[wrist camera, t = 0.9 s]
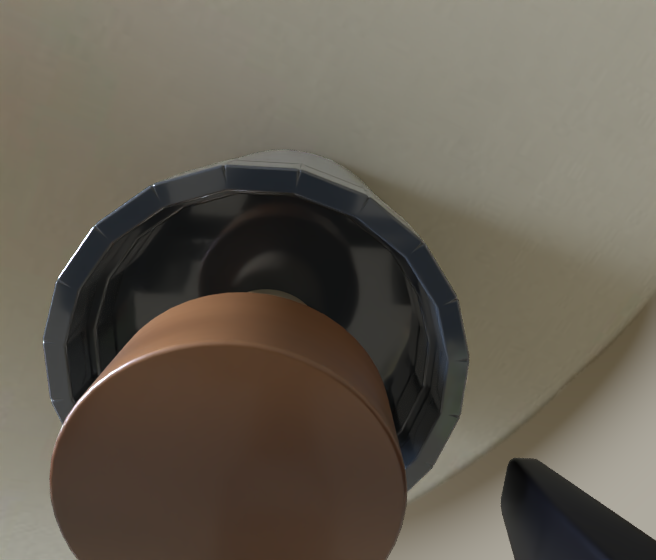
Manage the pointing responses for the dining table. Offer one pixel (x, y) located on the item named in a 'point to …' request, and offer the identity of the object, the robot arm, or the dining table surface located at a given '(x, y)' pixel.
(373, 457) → the mushroom
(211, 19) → the dining table surface
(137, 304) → the container
